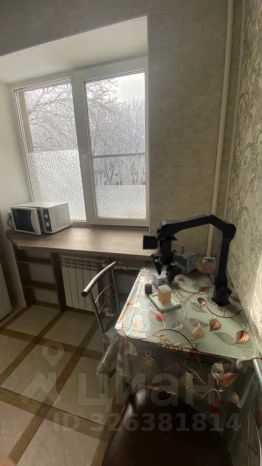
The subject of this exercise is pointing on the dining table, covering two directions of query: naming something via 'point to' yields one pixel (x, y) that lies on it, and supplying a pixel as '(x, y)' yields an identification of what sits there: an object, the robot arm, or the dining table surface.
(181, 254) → the industrial component
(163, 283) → the box
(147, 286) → the dark rounded cylinder
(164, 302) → the square block
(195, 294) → the dining table surface
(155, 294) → the tray
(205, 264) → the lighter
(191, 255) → the small box
